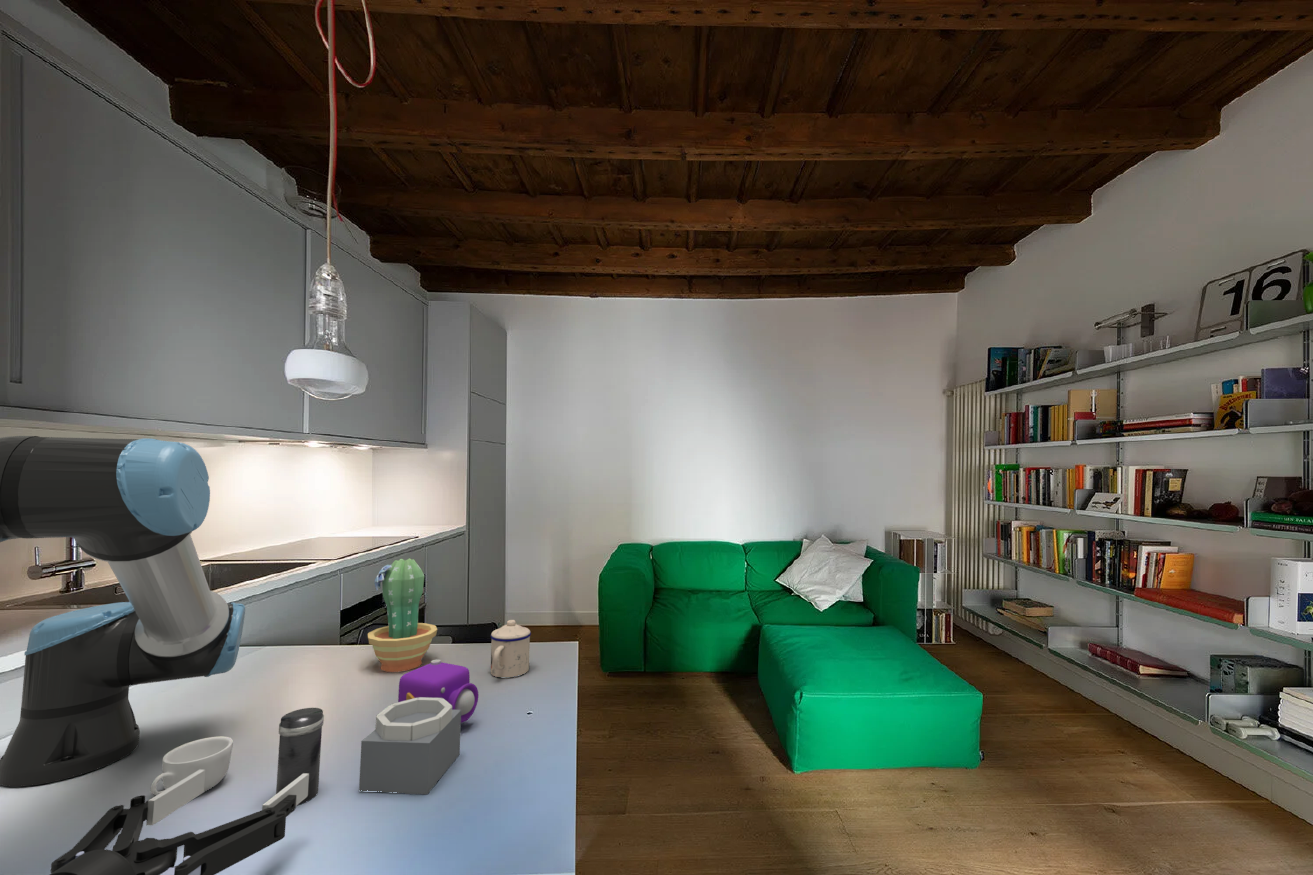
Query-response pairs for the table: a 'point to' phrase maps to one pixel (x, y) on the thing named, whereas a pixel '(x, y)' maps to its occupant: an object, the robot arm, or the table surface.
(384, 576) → the potted cactus
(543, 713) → the table surface
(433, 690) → the toy camera
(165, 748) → the table surface
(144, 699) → the table surface
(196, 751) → the teacup
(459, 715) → the camera body block
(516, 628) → the teacup with lid
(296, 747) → the lens
